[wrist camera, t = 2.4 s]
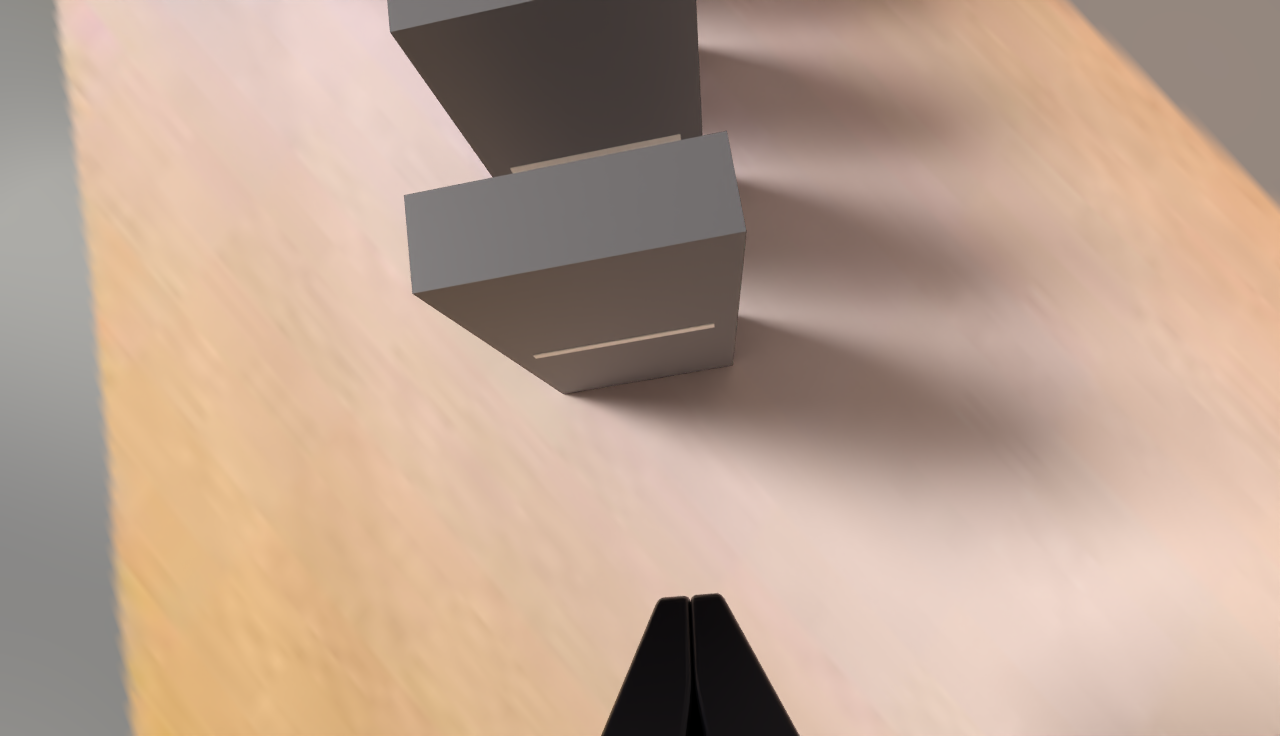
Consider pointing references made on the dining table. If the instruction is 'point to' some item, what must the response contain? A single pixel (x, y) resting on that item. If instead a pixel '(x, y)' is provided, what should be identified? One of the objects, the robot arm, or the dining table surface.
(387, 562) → the dining table surface
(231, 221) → the dining table surface
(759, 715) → the robot arm
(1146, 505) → the dining table surface
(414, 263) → the domino
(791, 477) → the dining table surface
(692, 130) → the domino
